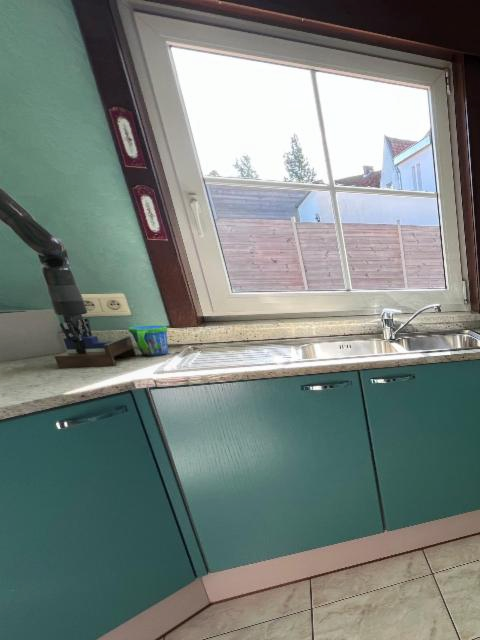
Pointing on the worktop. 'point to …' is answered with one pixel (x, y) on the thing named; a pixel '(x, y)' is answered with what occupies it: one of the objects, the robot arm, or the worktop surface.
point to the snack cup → (151, 339)
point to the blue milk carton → (87, 344)
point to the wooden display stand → (97, 355)
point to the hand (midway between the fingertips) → (85, 351)
